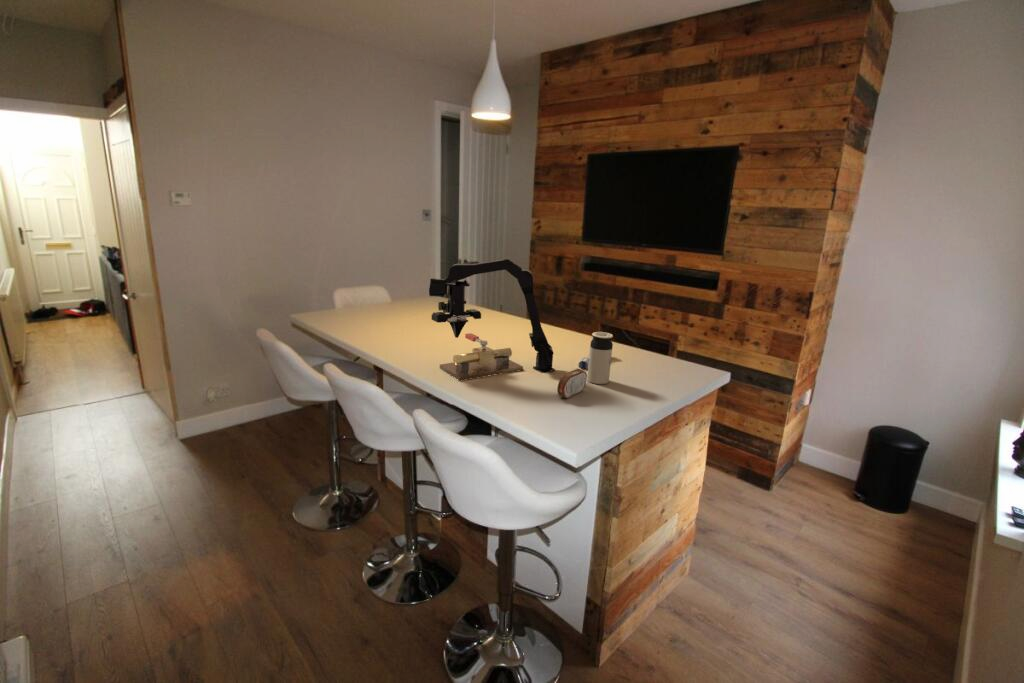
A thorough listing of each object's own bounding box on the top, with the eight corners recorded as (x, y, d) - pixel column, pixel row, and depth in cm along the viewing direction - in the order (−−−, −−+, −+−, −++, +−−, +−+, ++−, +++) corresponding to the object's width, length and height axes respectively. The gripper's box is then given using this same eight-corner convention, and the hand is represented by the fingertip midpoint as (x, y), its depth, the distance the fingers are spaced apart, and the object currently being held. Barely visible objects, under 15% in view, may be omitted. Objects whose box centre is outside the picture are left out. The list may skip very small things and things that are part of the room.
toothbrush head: (577, 359, 193) (603, 339, 212) (576, 374, 195) (602, 353, 214) (588, 362, 190) (614, 341, 209) (588, 377, 192) (613, 355, 211)
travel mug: (584, 382, 178) (588, 334, 173) (591, 376, 185) (595, 330, 180) (604, 386, 174) (610, 338, 170) (611, 380, 181) (616, 334, 176)
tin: (579, 388, 171) (581, 365, 169) (587, 390, 170) (589, 367, 167) (555, 399, 160) (557, 375, 158) (563, 401, 158) (565, 377, 156)
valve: (522, 370, 188) (524, 345, 185) (459, 381, 172) (459, 354, 170) (500, 358, 200) (501, 335, 198) (439, 368, 185) (439, 343, 182)
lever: (488, 345, 183) (489, 341, 182) (482, 346, 181) (482, 342, 181) (471, 337, 193) (471, 333, 193) (464, 337, 192) (465, 333, 191)
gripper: (468, 292, 193) (467, 330, 197) (425, 295, 183) (425, 335, 187) (482, 297, 184) (481, 336, 189) (438, 300, 174) (438, 342, 178)
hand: (456, 337), depth 186 cm, fingers closed
